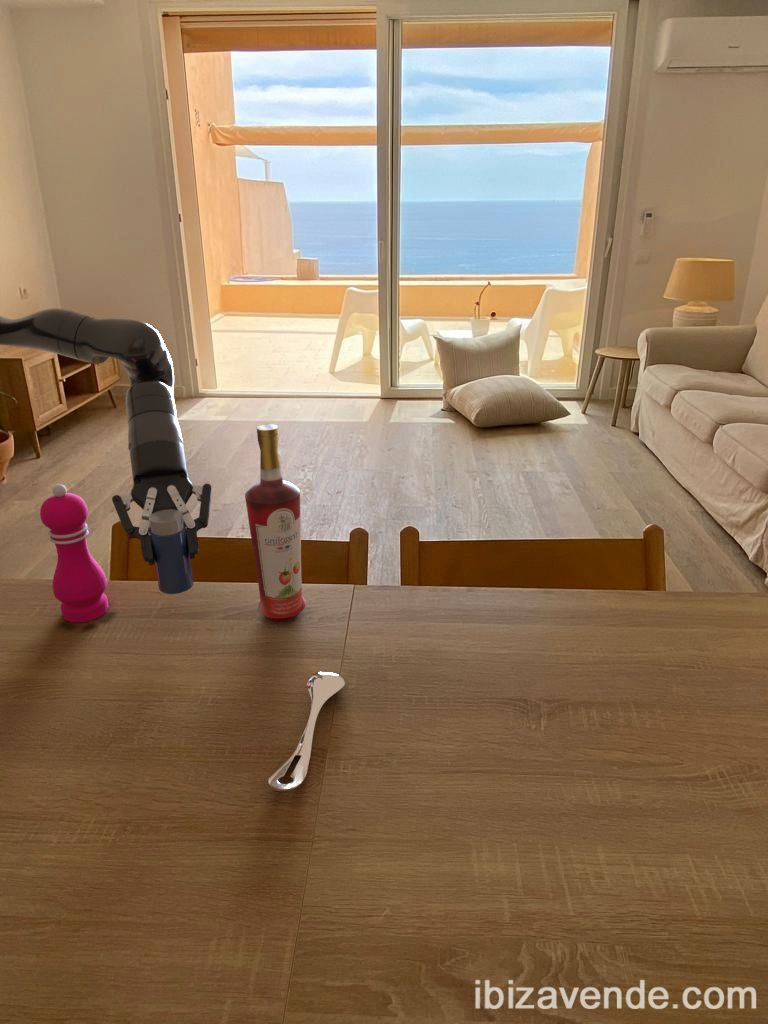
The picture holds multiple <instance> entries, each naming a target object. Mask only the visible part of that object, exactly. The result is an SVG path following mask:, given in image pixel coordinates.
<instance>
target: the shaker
mask: <svg viewBox="0 0 768 1024" xmlns="http://www.w3.org/2000/svg"><path fill="white" fill-rule="evenodd" d="M149 522H150V528H151V529H150V537H151V543H152V549H153V555H154V562H155V565H154V567H155V574H156V579H157V586H158V589H159V591H160V592H161V593H163V594H167V595H176V594H181V593H184V592H187V591H189V590H190V589H191V588H192V587H193V586H194V576H193V568H192V562H191V559H190V555H189V548H188V541H187V534H186V526H185V525H184V523H183V516H182V513H181V512H180V511H178V510H173V509H167V510H161V511H157V512H155V513H153V514H151V515H150V516H149Z"/></svg>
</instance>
